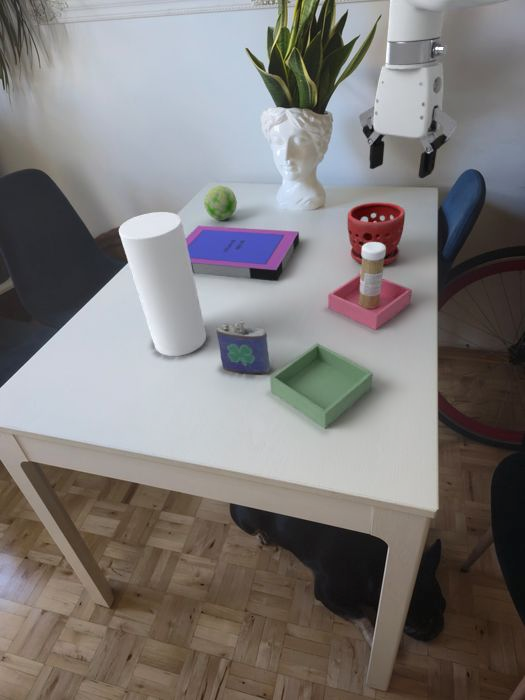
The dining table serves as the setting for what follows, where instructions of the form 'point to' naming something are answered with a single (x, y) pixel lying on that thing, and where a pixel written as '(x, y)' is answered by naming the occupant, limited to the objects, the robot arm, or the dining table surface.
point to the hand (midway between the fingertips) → (399, 171)
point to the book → (241, 251)
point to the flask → (243, 349)
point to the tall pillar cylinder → (164, 281)
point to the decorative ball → (220, 202)
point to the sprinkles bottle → (371, 274)
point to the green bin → (321, 384)
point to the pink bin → (348, 305)
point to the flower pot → (376, 228)
